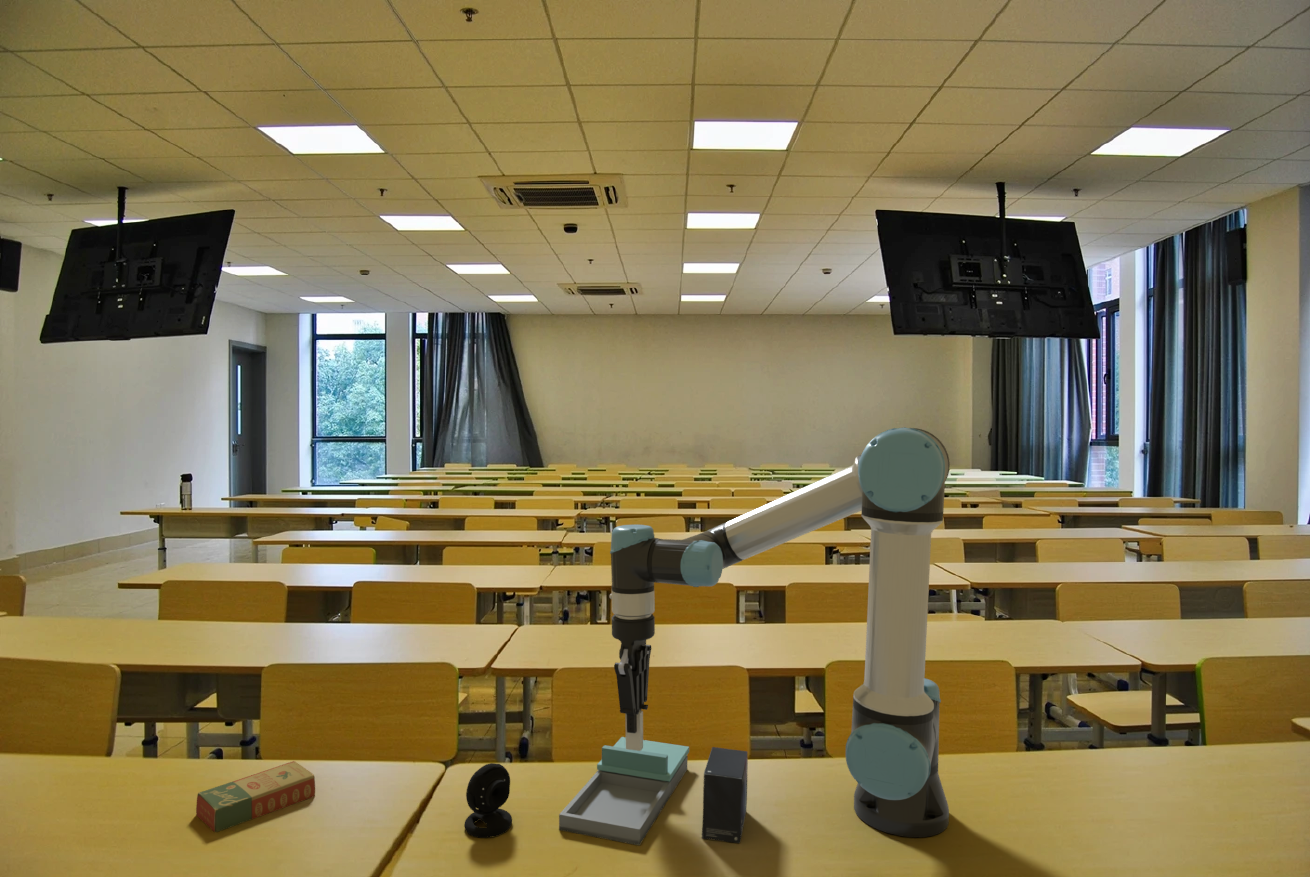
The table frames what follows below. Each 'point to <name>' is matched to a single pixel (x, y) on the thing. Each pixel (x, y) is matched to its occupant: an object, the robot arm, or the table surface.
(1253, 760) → the table surface
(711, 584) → the robot arm
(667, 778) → the lid
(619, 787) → the tray
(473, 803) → the webcam
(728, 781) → the small box
